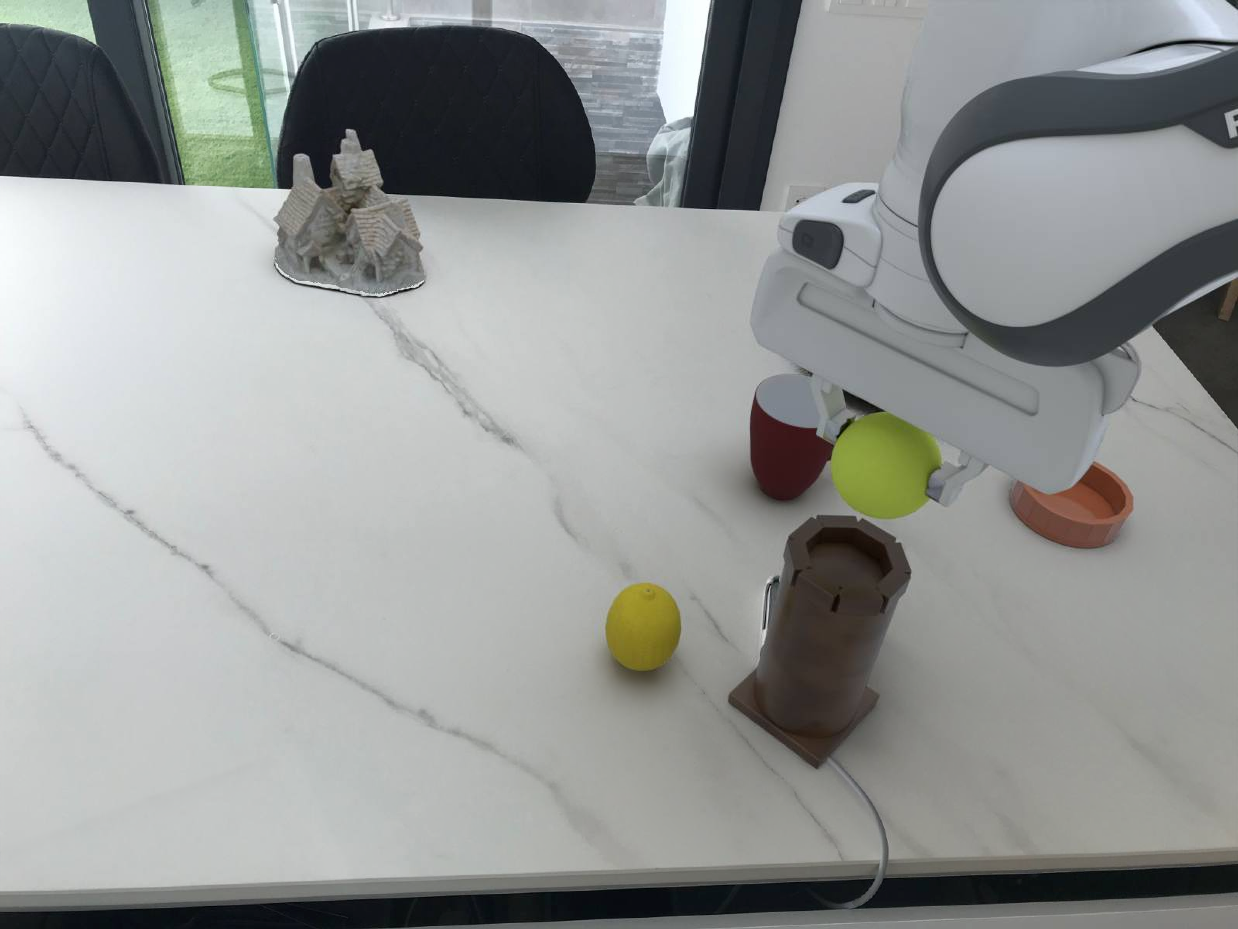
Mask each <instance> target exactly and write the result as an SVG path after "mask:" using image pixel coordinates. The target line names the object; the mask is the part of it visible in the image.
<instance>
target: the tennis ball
mask: <svg viewBox="0 0 1238 929" xmlns="http://www.w3.org/2000/svg"><path fill="white" fill-rule="evenodd" d="M939 447H940V446H939V445H938V443H937V440H936V439H935V436H933V435H931V434H929V433H927V432H925V431H923V430H921V429H919V428H917V427H915V426H913V425H911V424H910V423H908V422H906V421H904V420H902V419H900V418H898V417H896V416H894V415H892V414H890V413H888V412H887V411H880V412H873V413H869V414H867V415H864V416H862V417H860V418H858V419H857V420H856V419H855V422H853V423H852V424H851V425H850V426H848V427H847V428H846V429H845V430H844V431H843V433H842V434H841V435H840V437H839V438H838V440H837V442H836V444H835V446H834V449H833V452H832V457H831V461H830V474H831V480H832V482H833V485H834V487H835V490H836V492H837V493H838V495H839V496H840V497H841V499H842V500H843V501H844V502H845V503H846V504H847V505H848V506H849V507H850V508H852V509H853V510H854V511H856V512H857V513H860V514H862V515H864V516H865V517H869V518H871V519H878V520H894V519H895V520H896V519H900V518H904V517H907V516H909V515H911V514H913V513H915V512H917V511H918V510H920V509H921V508H922V507H924V506H925V505H926V504H927V503H928V502H929V501H930V500H931V498H929V497H927V496H926V495H925V489H926V488H928V487H929V486H928V481H929V478H930V476H931V474H932V473H933V472H934V471H935V470H938V469H939V468H940V466H941V465H942V464H943V459H942V454H941V450H940V448H939Z"/></svg>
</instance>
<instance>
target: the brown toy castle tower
mask: <svg viewBox="0 0 1238 929" xmlns="http://www.w3.org/2000/svg"><path fill="white" fill-rule="evenodd" d="M784 546H785V547H784V550H783V554H782V557H783V562H784V564H783V567H782V571H781V576H780V579H779V583H778V588H777V592H776V595H775V598H774V603H773V606H772V610H771V615H770V618H769V622H768V626H767V629H766V634H765V638H764V641H763V644H762V649H761V654H760V657H759V661H758V665H757V667H755V669H753V671H752V672H751V673H749V674H748V675H747V676H746V677H745V678H744V679H743V680H742V681H741V682H740V683H739V684H738V685H737V686H736V687H735V688H734V689H732V691H730V692H729V695H728V698H727V702H728V703H729V704H730V705H732V706H733V707H735V708H736V709H737V710H738V711H739V712H741V713H742V714H743V715H745V716H746V717H747V718H749V719H750V720H752V721H753V722H754V723H756V724H757V725H758V726H760V727H761V728H762V729H763V730H765V731H766V732H767V733H768V734H770V735H772V736H773V737H774V738H775V739H777V740H778V741H779V742H781V743H782V744H783V745H785V746H786V747H787V748H789V749H790V750H791V751H793V752H794V753H795V754H796V755H798V756H799V757H801V759H803V760H805V761H806V762H807V763H809V765H811V766H812V767H813V768H815V769H817V770H818V769H819V768H820V767H821V766H822V765H823V764H824V763H825V761H826V760H827V759H828V758H829V757H830V756H831V755H832V754H833V753H834V751H835V750H836V749H837V748H838V747H839V746H840V745H841V744H842V742H844V740H846V738H847V737H848V736H849V735H850V734H851V732H853V730H854V729H856V727H858V725H859V724H860V723H861V722H862V720H863V719H864V718H865V717H866V716H867V715H868V714H869V712H870V711H871V710H873V709H874V707H875V706H876V705H877V704H878V701H879V699H880V696H881V695H880V694H879V693H878V692H876V691H875V690H873V689H872V688H870V687H869V686H868V683H869V680H870V678H871V675H872V672H873V669H874V667H875V664H876V662H877V659H878V656H879V653H880V651H881V648H882V646H883V642H884V640H885V637H886V635H887V633H888V629H889V627H890V625H891V622H892V619H893V616H894V614H895V610H897V609H896V608H897V606H898V603H899V601H900V599H901V597H903V596H904V595H905V594H906V592H907V589H908V586H909V584H910V581H911V579H912V576H911V575H912V572H913V571H912V569H911V566H910V563H909V560H908V558H907V555H906V552H905V549H904V547H903V544H902V542H900V541H899V542H897V537H896V536H895V535H892V534H891V533H889V532H887V531H885V530H884V529H882V528H881V527H879V526H878V525H875V524H874V523H872V522H871V521H869V520H867V519H865V518H864V517H861V518H860V519H859V520H858V518H857V516H856V515H839V514H833V515H832V514H816V517H813V516H810V517H809V518H808V519H807V520H806V521H804V522H803V523H802V524H800V526H798V527H797V528H795V530H794V531H792V532H791V533H789V535H788V536H787V540H786V543H785V545H784ZM828 756H829V757H828ZM827 757H828V758H827Z"/></svg>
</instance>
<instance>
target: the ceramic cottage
mask: <svg viewBox="0 0 1238 929" xmlns="http://www.w3.org/2000/svg"><path fill="white" fill-rule="evenodd" d="M345 137H346V138H343V139H341V143H340V148H339V149H340V153H339V154H332V160H331V162H330V174H329V178H330V180H331V183H332V184H331V187H328V188H321V187H320V186H319V185H318V184H317V183H316V181H315V174H314V171H313V167H312V164H311V163H312V162H311V159H310V156H309V155H307V154H305V153H297V154H294V156H293V160H292V161H293V162H292V164H293V166H292V168H293V171H292V172H293V173H292V183H293V184H292V187H291V190H290V191H289V194H288V196H287V197H286V199H285V200H284V201H283V203H282V206H281V208H280V209H279V210H278V211H277V215H275V216H274V217H273V218H272V221H274V222H275V224H276V225H277V226H278V227H279V228H278V230H277V232H276V235H277V242H278V244H277V246H276V247H275V248H274V262H275V261H276V263H277V264H278V267H279V268H280V269H281V270H282V271H283V272H284V273H285V274H287V275H289V277H291V278H294V279H296V280H298V281H310V282H313V283H315V282H316V283H318V282H319V283H321V284H331V285H336V286H338V287H340V288H348V289H351V290H356V291H359V292H360V291H363V292H365V293H369V294H370V293H371V294H375V293H376V294H377V293H378V294H380V293H383V294H384V293H385V292H387V293H389V292H390V291H391V292H392V291H397V289H401V288H407V287H411V286H412V285H413V286H414V285H415V284H418V283H419V282H421V281H423V280H424V278H425V279H426V274H425V275H424V273H425V270H424V267H423V264H421V263H422V260H421V261H420V259H421V256H420V253H421V252H422V251H423V250H424V246H423V245H422V243H421V242H420V240H419V239H420V238H421V231H420V229H419V227H418V225H417V221H416V219H415V216H414V214H413V212H412V207H411V204H410V202H409V200H408V199H409V198H408V197H407V195H405V196H402V197H392V198H391V199H390V198H389V195H387V194H386V193H385V192H384V191H383V190H381V187H382V186H383V185H384V179H383V178H382V175H381V171H380V167H379V165H378V162H377V160H376V157H375V153H374V151H373V150H372V149H367V150H364V151H363V150H362V147H361V143H360V140H359V138H358V135H357V131H356V130H354V129H351V128H346V129H345ZM275 258H276V259H275ZM422 267H423V268H422Z"/></svg>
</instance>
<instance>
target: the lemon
mask: <svg viewBox="0 0 1238 929" xmlns="http://www.w3.org/2000/svg"><path fill="white" fill-rule="evenodd" d="M681 618H682V617H681V612H680V608H679V606H678V604H677V602H676V599H675V598H674V597H673V596H672V594H671V593H670V592H669V591H668V590H666V589H665V588H663V587H662V586H659V585H658V584H655V583H650V582H638V583H633V584H631V585H629V586H627V587H625V588H624V589H622V590H621V591H620V592H619V593H618V594H617V595H616V596H615V598H614V600H613V601H612V603H611V605H610V607H609V609H608V612H607V616H606V620H605V621H606V622H605V630H604V631H605V640H606V644H607V646H608V649H609V650H610V652H611V654H612V656H613V657H614V658H615V659H616V660H617V662H618V663H620V664H621V665H622V666H624V667H625V668H628V669H630V670H633V671H638V672H647V671H651V670H655V669H657V668H659V667H661V666H663V665H664V664H665V663H667V662H668V661H669V660H670V659H671V657H672V656H673V654H674V653H675V651H676V650H677V648H678V646H679V642H680V638H681V634H682V620H681Z"/></svg>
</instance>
